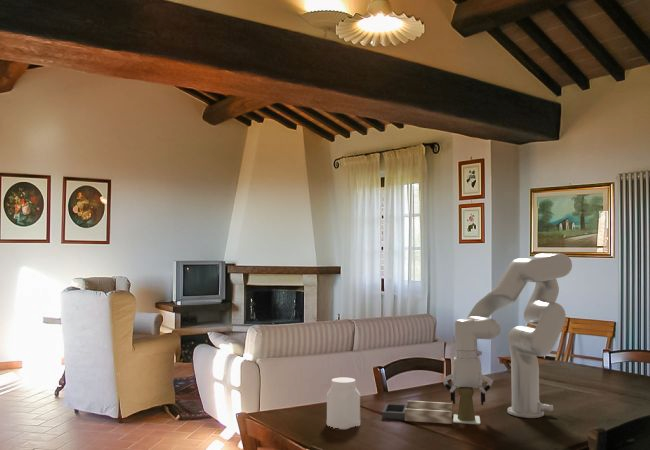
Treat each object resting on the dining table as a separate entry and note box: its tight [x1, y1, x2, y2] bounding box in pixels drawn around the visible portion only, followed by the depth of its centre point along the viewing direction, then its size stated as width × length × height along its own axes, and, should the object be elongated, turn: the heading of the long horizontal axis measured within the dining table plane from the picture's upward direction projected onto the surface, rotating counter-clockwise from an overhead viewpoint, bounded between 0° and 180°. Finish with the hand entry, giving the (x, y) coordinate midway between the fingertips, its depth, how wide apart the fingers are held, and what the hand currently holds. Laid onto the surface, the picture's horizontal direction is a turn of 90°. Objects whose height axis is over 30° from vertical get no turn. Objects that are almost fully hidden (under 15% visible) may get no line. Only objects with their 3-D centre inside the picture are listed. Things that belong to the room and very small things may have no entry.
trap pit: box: [381, 403, 408, 422], centre depth 210 cm, size 8×12×2 cm, turn 167°
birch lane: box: [404, 400, 453, 425], centre depth 207 cm, size 16×12×4 cm
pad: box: [452, 413, 481, 425], centre depth 204 cm, size 9×9×1 cm
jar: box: [326, 376, 361, 430], centre depth 199 cm, size 12×10×15 cm
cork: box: [457, 387, 476, 421], centre depth 204 cm, size 6×6×11 cm
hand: (468, 403), depth 205 cm, fingers open, 9 cm apart
